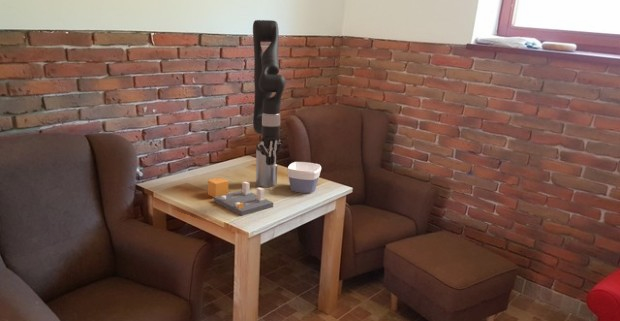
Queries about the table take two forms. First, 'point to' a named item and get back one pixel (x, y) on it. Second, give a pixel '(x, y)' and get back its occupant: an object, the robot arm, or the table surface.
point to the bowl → (303, 176)
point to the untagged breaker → (245, 188)
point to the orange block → (217, 187)
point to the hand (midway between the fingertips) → (270, 164)
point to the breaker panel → (242, 203)
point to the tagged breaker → (260, 195)
